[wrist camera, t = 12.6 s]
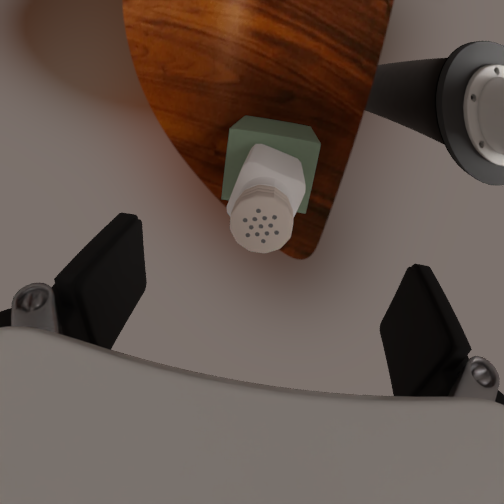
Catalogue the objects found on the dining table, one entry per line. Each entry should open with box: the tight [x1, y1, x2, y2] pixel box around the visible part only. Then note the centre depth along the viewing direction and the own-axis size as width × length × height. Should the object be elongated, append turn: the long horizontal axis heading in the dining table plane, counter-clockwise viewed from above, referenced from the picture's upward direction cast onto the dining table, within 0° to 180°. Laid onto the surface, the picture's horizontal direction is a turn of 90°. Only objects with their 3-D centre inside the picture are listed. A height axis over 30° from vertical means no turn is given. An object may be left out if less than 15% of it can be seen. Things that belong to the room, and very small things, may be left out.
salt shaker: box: [227, 144, 306, 253], centre depth 19 cm, size 4×4×10 cm
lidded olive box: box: [221, 115, 321, 213], centre depth 27 cm, size 7×6×10 cm
